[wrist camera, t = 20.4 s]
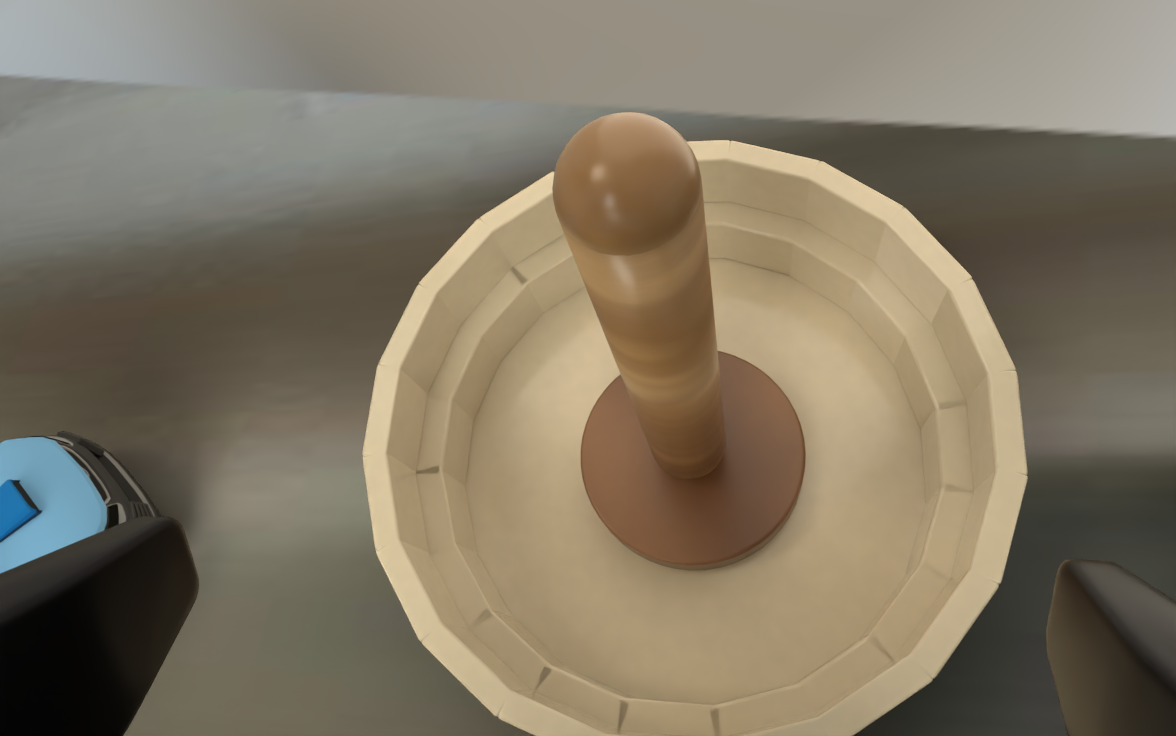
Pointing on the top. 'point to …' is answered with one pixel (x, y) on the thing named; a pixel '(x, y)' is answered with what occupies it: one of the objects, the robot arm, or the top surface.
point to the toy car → (61, 495)
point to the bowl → (750, 586)
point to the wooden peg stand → (669, 360)
